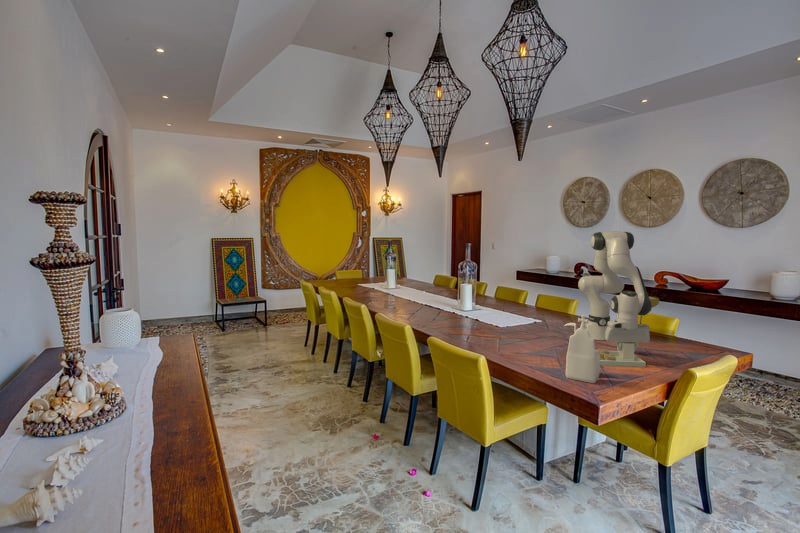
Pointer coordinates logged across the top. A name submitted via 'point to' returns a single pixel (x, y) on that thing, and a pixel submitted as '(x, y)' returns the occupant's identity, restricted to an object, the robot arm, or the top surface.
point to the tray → (623, 361)
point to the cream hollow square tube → (626, 350)
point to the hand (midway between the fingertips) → (626, 350)
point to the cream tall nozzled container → (582, 355)
